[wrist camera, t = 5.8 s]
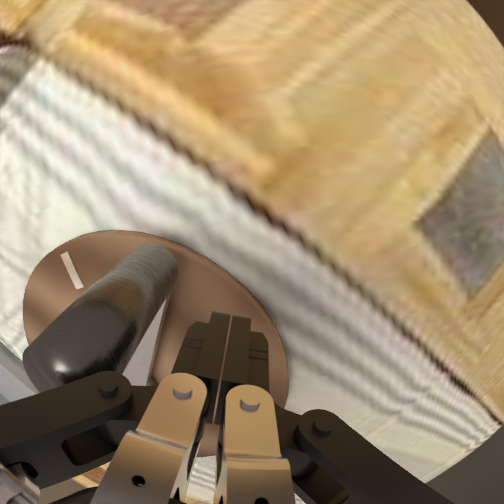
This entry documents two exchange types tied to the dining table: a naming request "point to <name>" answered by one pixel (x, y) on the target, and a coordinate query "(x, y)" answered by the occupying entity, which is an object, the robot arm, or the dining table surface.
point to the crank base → (178, 311)
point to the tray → (13, 378)
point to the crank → (108, 324)
